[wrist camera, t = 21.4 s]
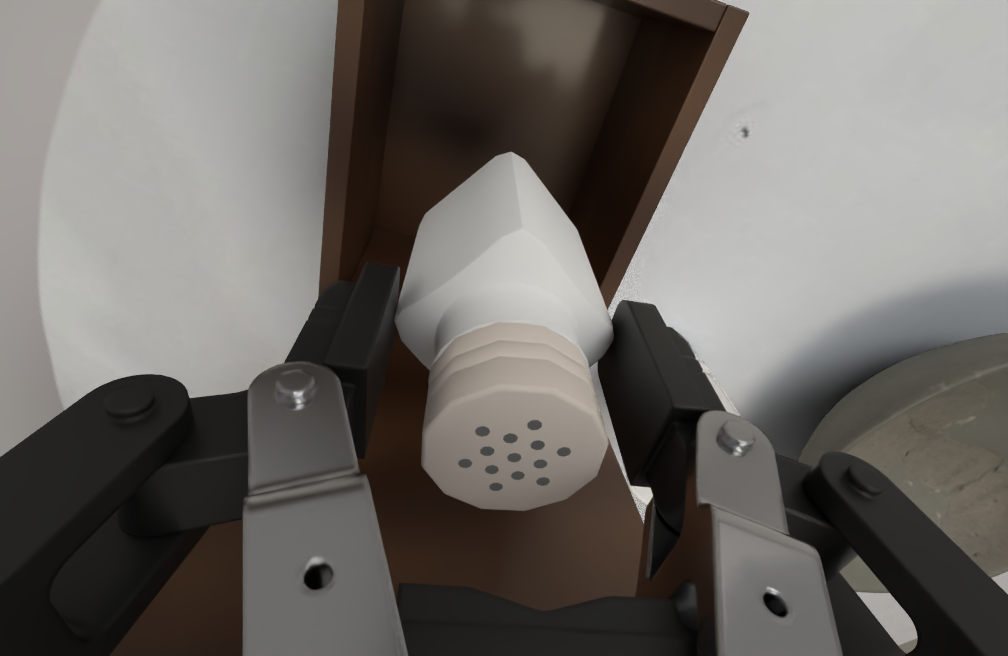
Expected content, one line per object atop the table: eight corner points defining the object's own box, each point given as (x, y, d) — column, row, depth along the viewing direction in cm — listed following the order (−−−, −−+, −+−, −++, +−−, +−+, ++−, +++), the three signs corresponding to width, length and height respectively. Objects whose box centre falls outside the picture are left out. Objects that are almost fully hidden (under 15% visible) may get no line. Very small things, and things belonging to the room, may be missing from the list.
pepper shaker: (583, 234, 16) (675, 466, 8) (491, 298, 17) (495, 549, 10) (511, 137, 14) (541, 319, 6) (413, 217, 16) (342, 448, 8)
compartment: (399, -90, 21) (346, -137, 13) (659, 3, 23) (750, 12, 15) (362, 231, 30) (316, 321, 22) (554, 276, 32) (577, 373, 24)
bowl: (774, 541, 52) (817, 624, 45) (703, 371, 37) (751, 456, 30) (1074, 453, 45) (1179, 537, 38) (1131, 200, 30) (1318, 262, 23)
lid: (-26, 840, 6) (33, 972, 9) (779, 847, 9) (658, 951, 11) (314, 319, 21) (303, 420, 23) (581, 372, 23) (547, 459, 26)
